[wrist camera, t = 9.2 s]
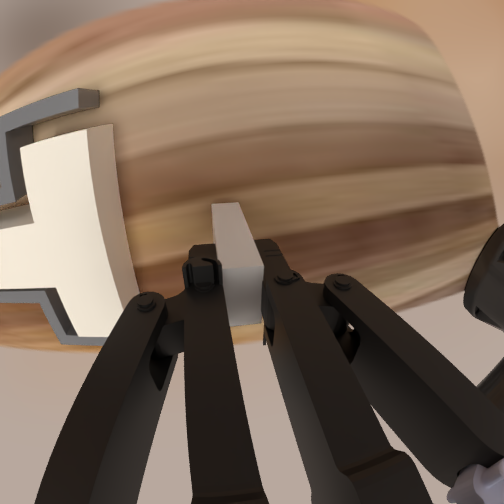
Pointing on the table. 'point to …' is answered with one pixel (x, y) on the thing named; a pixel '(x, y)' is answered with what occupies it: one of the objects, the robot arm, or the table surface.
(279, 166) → the table surface
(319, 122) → the table surface
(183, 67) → the table surface
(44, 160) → the t block
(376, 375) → the robot arm
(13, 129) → the t bay
